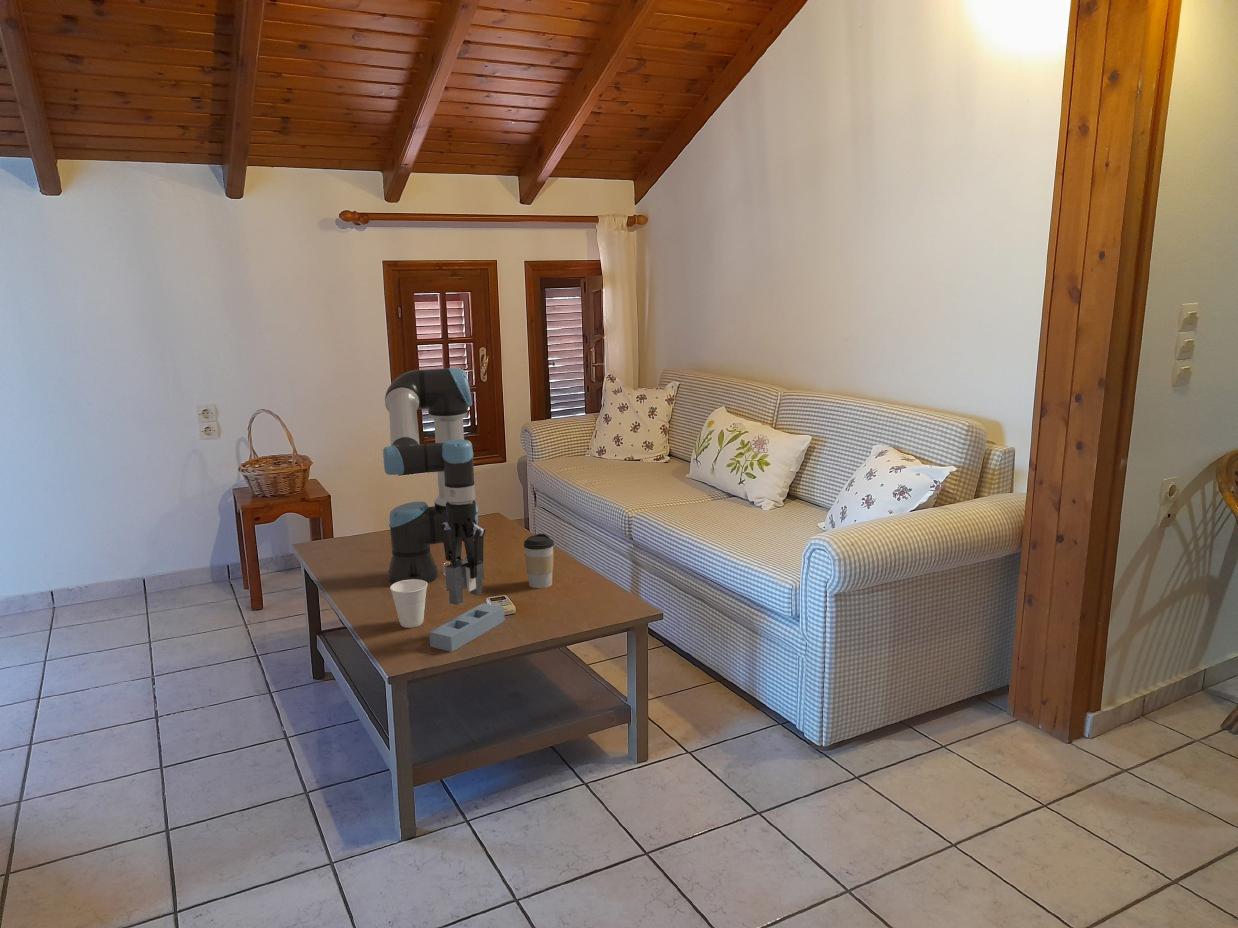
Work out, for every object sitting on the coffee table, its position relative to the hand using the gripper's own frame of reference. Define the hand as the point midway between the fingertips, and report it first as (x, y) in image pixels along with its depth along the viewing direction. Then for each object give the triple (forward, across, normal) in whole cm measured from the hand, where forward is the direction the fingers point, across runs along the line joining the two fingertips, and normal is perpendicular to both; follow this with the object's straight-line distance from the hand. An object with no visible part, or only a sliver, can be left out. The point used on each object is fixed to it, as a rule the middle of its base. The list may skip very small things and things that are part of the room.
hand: (466, 588), depth 230 cm
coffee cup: (+13, -4, +39) cm, 41 cm away
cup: (+13, -18, -2) cm, 22 cm away
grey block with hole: (+13, 0, 0) cm, 13 cm away
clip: (+3, 0, 0) cm, 3 cm away
